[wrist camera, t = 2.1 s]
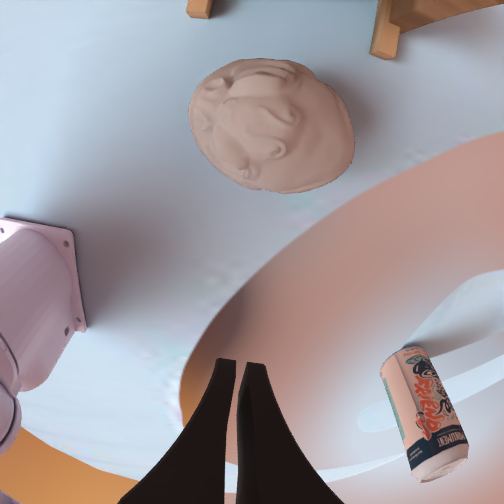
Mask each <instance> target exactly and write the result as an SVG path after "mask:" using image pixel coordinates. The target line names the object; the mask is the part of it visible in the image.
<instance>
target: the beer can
mask: <svg viewBox="0 0 504 504" xmlns="http://www.w3.org/2000/svg"><path fill="white" fill-rule="evenodd" d="M380 376H381V378H382V380H383V383H384V386H385V389H386V391H387V394H388V397H389V400H390V403H391V406H392V409H393V412H394V415H395V418H396V421H397V424H398V427H399V431H400V434H401V437H402V440H403V444H404V447H405V450H406V454H407V457H408V461H409V464H410V468H411V471H412V472H411V474H412V476H414V477H415V478H416V479H417V480H418V481H420V483H425V482H429V481H432V480H435V479H437V478H440V477H442V476H444V475H446V474H448V473H450V472H452V471H454V470H455V469H457V468H458V467H459V466H461V465H462V464H463V463H465V462H466V460H467V458H468V457H467V456H468V448H469V444H468V441H467V439H466V436H465V434H464V431H463V429H462V427H461V424H460V422H459V420H458V417H457V416H456V413H455V411H454V409H453V406H452V404H451V402H450V400H449V398H448V395H447V393H446V391H445V389H444V387H443V385H442V383H441V381H440V379H439V377H438V375H437V373H436V371H435V369H434V367H433V365H432V363H431V362H430V359H429V357H428V355H427V353H426V351H425V350H424V349H423V348H421V347H417V346H413V347H408V348H404V349H401V350H399V351H397V352H395V353H394V354H392V355H391V356H390V357H389V358H388V359H387V360H386V361H385V362H384V363H383V365H382V367H381V369H380Z"/></svg>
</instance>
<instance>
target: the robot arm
mask: <svg viewBox="0 0 504 504" xmlns="http://www.w3.org/2000/svg"><path fill="white" fill-rule="evenodd" d="M0 238H1V244H0V456H1V455H3V454H4V453H5V452H6V451H7V450H8V449H9V448H10V447H11V445H12V444H13V443H14V441H15V439H16V437H17V435H18V432H19V429H20V426H21V419H22V412H21V406H20V404H19V401H18V399H17V397H16V396H17V394H18V392H25V391H30V390H32V389H34V388H36V387H38V386H39V385H41V384H42V383H43V382H44V381H45V380H46V379H47V378H48V376H49V375H50V373H51V371H52V370H53V368H54V366H55V364H56V363H57V361H58V359H59V357H60V356H61V354H62V352H63V351H64V349H65V347H66V346H67V344H68V342H69V341H70V339H71V337H72V336H73V334H74V333H75V331H78V332H82V333H84V332H85V331H86V329H87V326H86V321H85V316H84V311H83V305H82V300H81V294H80V287H79V281H78V274H77V266H76V258H75V248H74V238H73V234H72V232H71V231H70V230H68V229H63V228H57V227H52V226H47V225H41V224H36V223H31V222H25V221H20V220H15V219H9V218H4V217H2V218H0ZM66 241H67V242H68V243H69V245H68V244H67V243H66ZM79 318H80V319H79ZM235 378H236V360H230V359H222V358H218V359H217V360H216V363H215V368H214V371H213V374H212V377H211V379H210V382H209V384H208V387H207V389H206V391H205V393H204V395H203V397H202V399H201V401H200V403H199V405H198V407H197V408H196V410H195V412H194V414H193V415H192V417H191V419H190V421H189V422H188V423H187V425H186V427H185V428H184V429H183V431H182V432H181V434H180V435H179V437H178V438H177V439H176V441H175V442H174V443H173V445H172V446H171V447H170V449H169V450H168V451H167V452H166V454H165V455H164V456H163V457H162V458H161V460H160V461H159V462H158V463H157V464H156V465H155V466H154V467H153V468H152V469H151V470H150V471H149V473H148V474H147V475H146V476H145V477H144V478H143V479H142V480H141V481H140V482H139V483H138V484H137V485H135V486H134V487H133V488H132V489H131V490H130V491H129V492H128V493H126V494H125V495H124V496H123V497H122V498H121V499H120V501H119V502H118V503H117V504H224V489H225V452H226V432H227V424H228V418H229V412H230V407H231V401H232V395H233V389H234V383H235ZM237 445H238V480H237V494H236V504H344V503H343V502H342V501H341V500H340V499H339V498H338V497H337V496H336V495H335V493H334V492H333V491H332V490H331V489H330V488H329V487H328V486H327V485H326V483H325V482H324V481H323V480H322V478H321V477H320V476H319V475H318V473H317V472H316V471H315V470H314V469H313V467H312V466H311V464H310V463H309V461H308V460H307V459H306V457H305V455H304V454H303V452H302V451H301V449H300V448H299V446H298V444H297V443H296V441H295V439H294V437H293V435H292V433H291V432H290V430H289V428H288V426H287V424H286V422H285V419H284V417H283V415H282V413H281V410H280V408H279V406H278V403H277V401H276V398H275V396H274V393H273V390H272V387H271V384H270V381H269V378H268V374H267V371H266V366H265V365H264V364H259V363H252V362H247V365H246V368H245V372H244V375H243V379H242V382H241V386H240V390H239V394H238V405H237ZM0 504H21V503H20V502H18V501H16V500H15V499H13V498H11V497H10V496H9V495H7V494H6V493H4V492H2V491H1V490H0Z"/></svg>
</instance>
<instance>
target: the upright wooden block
mask: <svg viewBox="0 0 504 504" xmlns="http://www.w3.org/2000/svg"><path fill="white" fill-rule="evenodd" d="M213 1H214V0H189V1H188V5H187V8H186V12H187V13H188V15H189V16H190V17H191V18H201V19H209V17H210V13H211V9H212V5H213ZM499 4H504V0H379V1H378V7H377V14H376V20H375V26H374V32H373V37H372V43H371V48H370V54H371V55H373V56H376V57H379V58H381V59H384V60H387V59H391V58H395V56H396V50H397V44H398V38H399V34H401V33H404V32H406V31H409V30H412V29H415V28H417V27H420V26H423V25H426V24H429V23H432V22H435V21H438V20H441V19H445V18H448V17H451V16H455V15H458V14H462V13H465V12H469V11H473V10H477V9H481V8H485V7H490V6H494V5H499Z"/></svg>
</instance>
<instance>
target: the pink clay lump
mask: <svg viewBox="0 0 504 504" xmlns="http://www.w3.org/2000/svg"><path fill="white" fill-rule="evenodd" d="M188 113H189V121H190V126H191V130H192V133H193V136H194V139H195V142H196V144H197V146H198V148H199V149H200V151H201V152H202V153H203V154H204V155H205V156H206V157H207V159H208V160H209V161H210V163H211V164H212V165H213V166H214V167H215V168H217V169H218V170H219V171H220V172H221V173H223V174H224V175H226V176H227V177H228V178H230V179H232V180H233V181H234V182H236V183H238V184H240V185H242V186H244V187H247V188H249V189H254V190H262V189H265V190H269V191H274V192H278V193H283V194H290V193H301V192H305V191H310V190H312V189H315V188H318V187H322V186H324V185H326V184H328V183H330V182H332V181H333V180H335V179H336V178H338V177H339V176H340V175H341V174H342V173H343V172H344V171H345V170H346V169H347V168H348V167H349V165H350V164H351V163H352V159H353V155H354V147H355V141H354V133H353V127H352V124H351V122H350V117H349V114H348V111H347V109H346V107H345V105H344V103H343V101H342V100H341V99H340V97H339V96H338V95H337V94H336V92H335V91H334V90H333V89H332V88H331V87H330V86H328V85H326V84H323V83H321V82H320V81H318V80H316V76H315V75H314V73H313V72H312V71H311V70H309V69H308V68H307V67H305V66H303V65H301V64H298V63H295V62H292V61H289V60H274V59H264V58H257V59H247V60H237V61H234V62H232V63H229V64H227V65H225V66H224V67H222V68H220V69H218V70H216V71H215V72H214V73H212V74H211V75H209V76H208V77H206V78H205V79H204V80H203V81H202V82H201V83H200V84H199V85H198V87H197V89H196V90H195V92H194V94H193V97H192V99H191V101H190V105H189V111H188Z"/></svg>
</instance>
